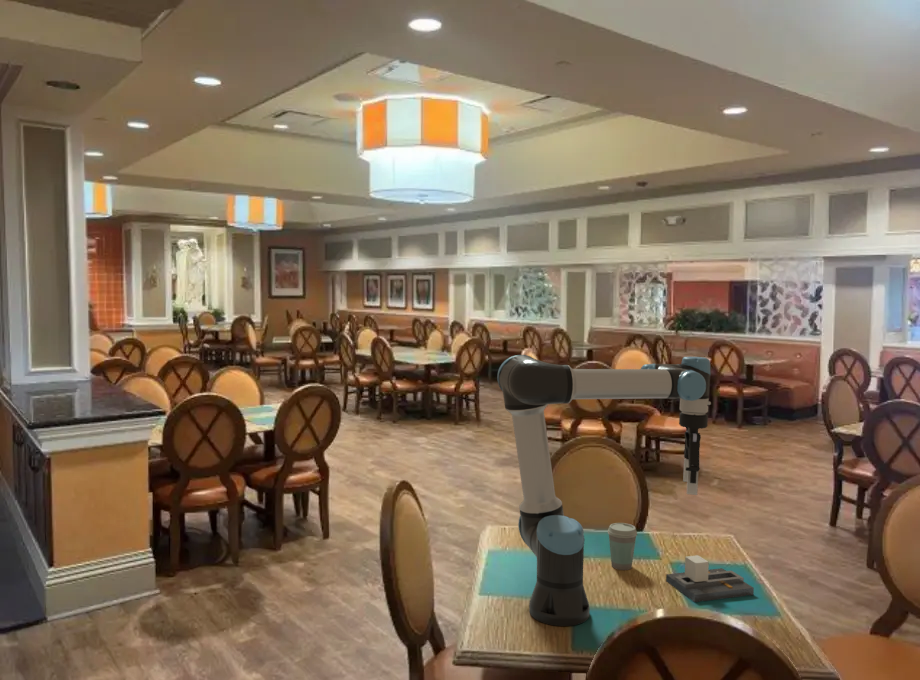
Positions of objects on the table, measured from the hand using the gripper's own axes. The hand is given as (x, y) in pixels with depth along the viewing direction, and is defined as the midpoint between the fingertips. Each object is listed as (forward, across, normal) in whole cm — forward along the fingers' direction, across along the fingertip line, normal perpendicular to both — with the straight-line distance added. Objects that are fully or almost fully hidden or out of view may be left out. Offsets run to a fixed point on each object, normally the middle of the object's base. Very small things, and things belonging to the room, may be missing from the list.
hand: (689, 487), depth 202 cm
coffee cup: (+27, +7, +18) cm, 33 cm away
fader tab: (+25, -5, -2) cm, 25 cm away
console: (+27, -3, -6) cm, 27 cm away
